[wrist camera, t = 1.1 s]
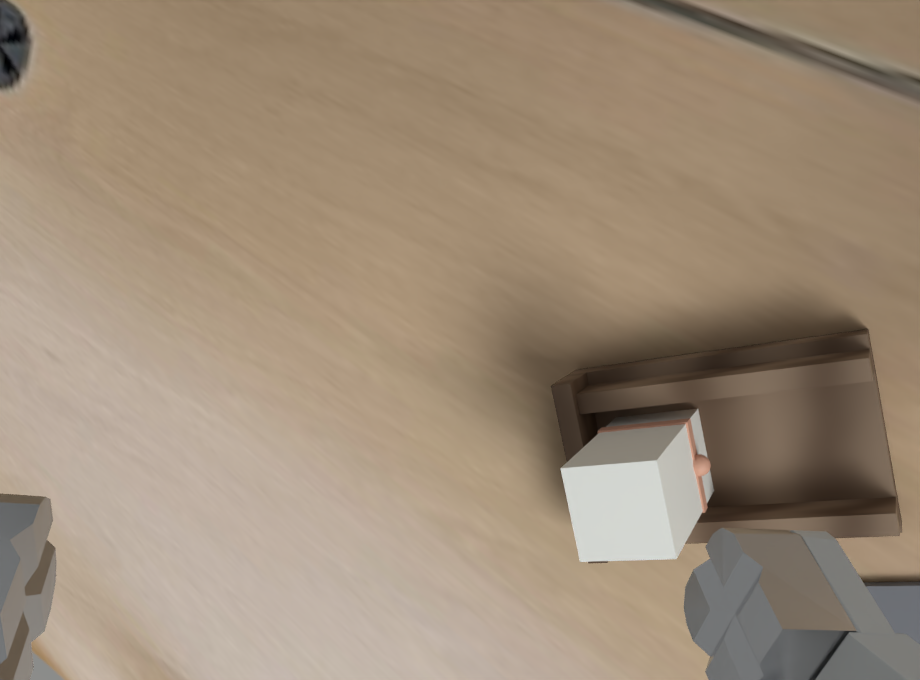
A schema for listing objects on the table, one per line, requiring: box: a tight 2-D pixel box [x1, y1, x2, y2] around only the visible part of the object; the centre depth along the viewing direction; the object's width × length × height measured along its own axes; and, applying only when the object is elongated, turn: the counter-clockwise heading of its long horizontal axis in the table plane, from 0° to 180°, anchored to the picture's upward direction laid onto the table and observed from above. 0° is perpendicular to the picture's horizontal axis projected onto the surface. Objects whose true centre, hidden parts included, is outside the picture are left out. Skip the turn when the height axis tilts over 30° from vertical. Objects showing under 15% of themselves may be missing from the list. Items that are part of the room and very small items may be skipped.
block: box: [560, 409, 714, 562], centre depth 47 cm, size 6×5×10 cm
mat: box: [864, 582, 920, 644], centre depth 51 cm, size 10×10×1 cm
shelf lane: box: [551, 329, 902, 563], centre depth 50 cm, size 17×11×4 cm, turn 104°
